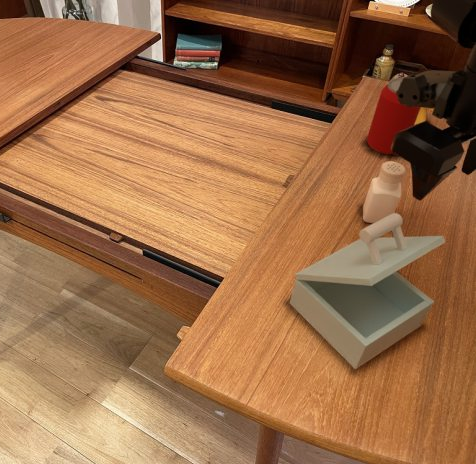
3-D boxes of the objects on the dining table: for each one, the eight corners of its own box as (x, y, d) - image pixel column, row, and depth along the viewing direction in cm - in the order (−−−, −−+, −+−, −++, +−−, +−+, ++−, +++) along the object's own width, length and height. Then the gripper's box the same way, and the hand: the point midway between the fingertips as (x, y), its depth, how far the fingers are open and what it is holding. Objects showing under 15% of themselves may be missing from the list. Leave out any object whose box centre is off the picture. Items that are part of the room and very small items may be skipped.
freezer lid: (445, 242, 56) (431, 200, 55) (371, 286, 52) (355, 241, 51) (362, 243, 68) (350, 208, 67) (296, 279, 63) (283, 242, 63)
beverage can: (404, 139, 93) (427, 78, 85) (404, 160, 89) (428, 98, 80) (366, 133, 95) (384, 73, 86) (364, 153, 90) (383, 92, 82)
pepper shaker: (389, 227, 77) (409, 178, 70) (362, 223, 78) (379, 173, 71) (388, 210, 80) (408, 161, 73) (362, 206, 80) (378, 157, 74)
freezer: (420, 325, 64) (434, 301, 61) (355, 369, 60) (366, 346, 56) (352, 267, 71) (361, 243, 68) (289, 303, 67) (295, 279, 64)
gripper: (482, 21, 61) (436, 132, 72) (372, 62, 54) (340, 177, 65) (577, 56, 54) (510, 173, 65) (464, 108, 47) (411, 227, 58)
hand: (441, 185), depth 64 cm, fingers open, 9 cm apart
